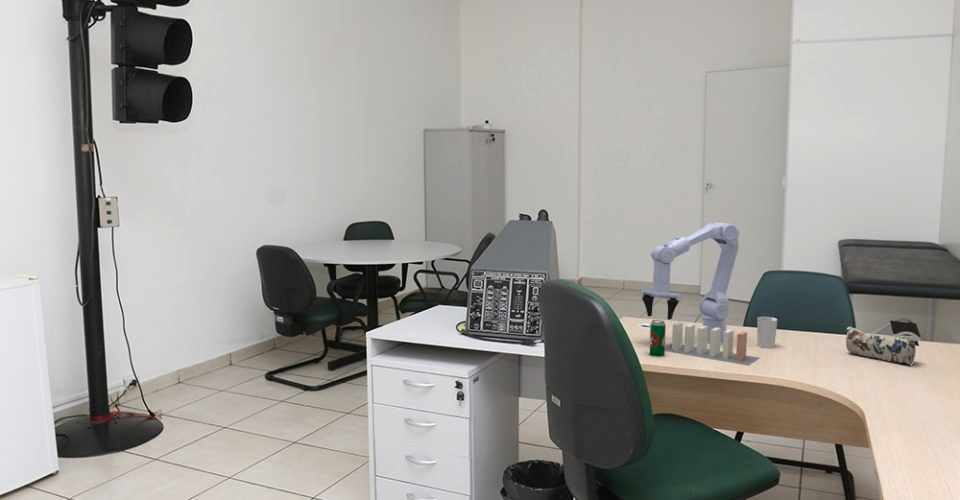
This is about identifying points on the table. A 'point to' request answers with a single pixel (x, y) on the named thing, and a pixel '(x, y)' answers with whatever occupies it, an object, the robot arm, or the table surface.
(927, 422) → the table surface
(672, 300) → the robot arm
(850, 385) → the table surface
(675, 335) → the domino
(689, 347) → the domino
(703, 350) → the domino
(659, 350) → the soda can
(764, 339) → the drinking glass
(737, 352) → the domino
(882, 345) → the pencil case
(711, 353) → the domino
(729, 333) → the domino
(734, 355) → the felt mat
